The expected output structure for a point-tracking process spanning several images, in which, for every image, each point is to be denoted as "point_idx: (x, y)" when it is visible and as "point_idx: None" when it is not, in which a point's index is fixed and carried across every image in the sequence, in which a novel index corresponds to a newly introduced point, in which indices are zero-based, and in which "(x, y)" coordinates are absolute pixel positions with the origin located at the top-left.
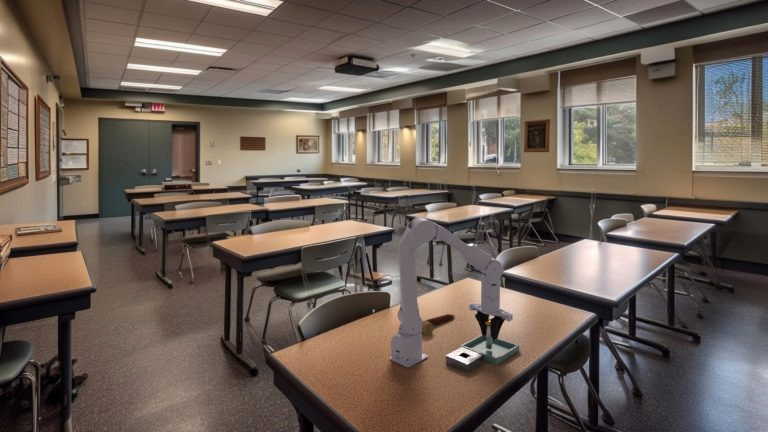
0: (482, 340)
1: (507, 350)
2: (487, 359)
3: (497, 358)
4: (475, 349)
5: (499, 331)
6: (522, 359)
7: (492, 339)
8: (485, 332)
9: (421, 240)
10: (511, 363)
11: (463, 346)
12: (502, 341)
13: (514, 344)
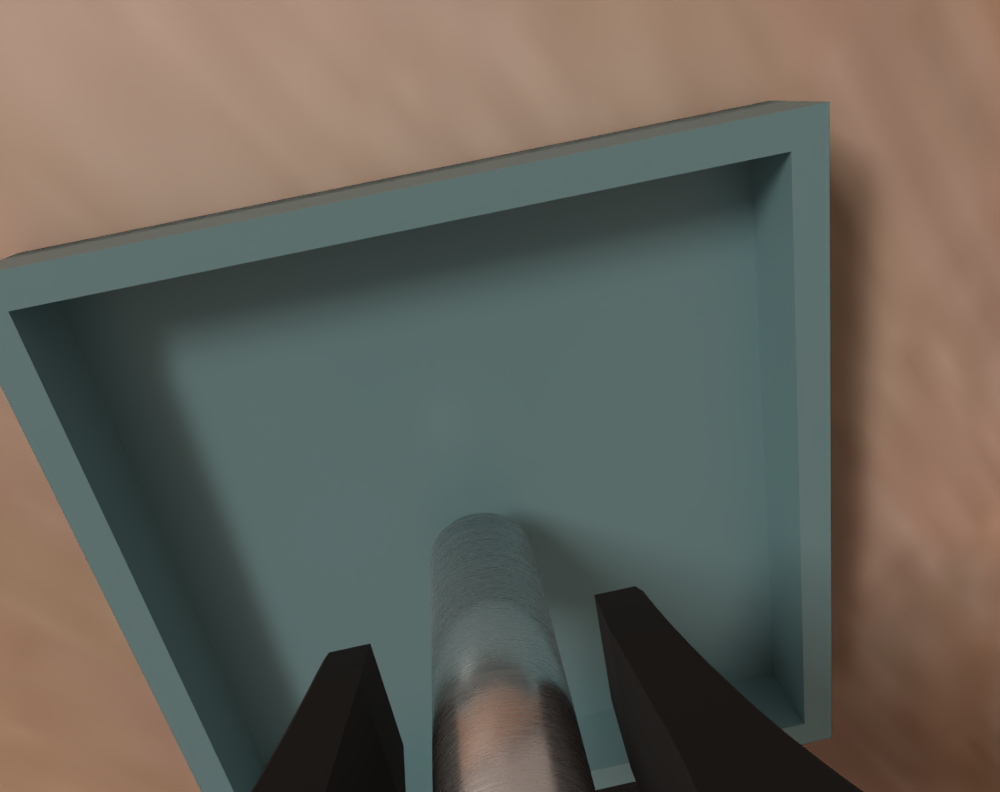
0: (118, 376)
1: (663, 305)
2: None
3: (826, 717)
4: None
5: (715, 670)
6: (944, 294)
7: (545, 621)
8: (383, 751)
9: None
10: (887, 500)
11: None
12: (460, 213)
13: (739, 160)
